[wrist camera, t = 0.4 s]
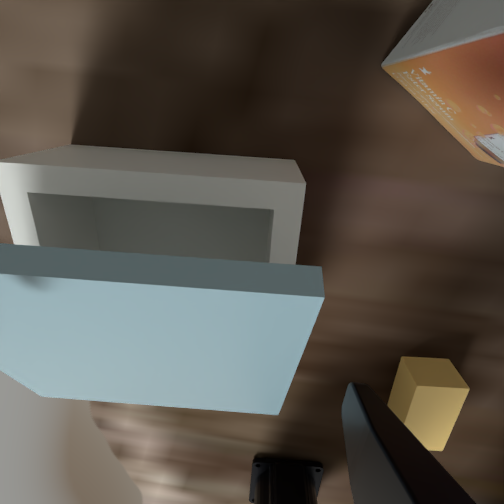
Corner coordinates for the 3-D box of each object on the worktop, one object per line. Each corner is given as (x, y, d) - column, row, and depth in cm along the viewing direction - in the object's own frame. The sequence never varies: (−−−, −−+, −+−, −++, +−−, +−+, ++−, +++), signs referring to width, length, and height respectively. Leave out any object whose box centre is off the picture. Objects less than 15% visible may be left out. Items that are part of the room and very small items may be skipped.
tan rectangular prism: (425, 415, 27) (442, 451, 24) (383, 413, 27) (395, 448, 24) (447, 356, 24) (469, 388, 22) (400, 354, 24) (417, 385, 22)
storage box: (275, 328, 24) (278, 394, 18) (99, 314, 24) (51, 376, 18) (294, 159, 18) (306, 183, 13) (70, 144, 19) (-9, 161, 13)
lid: (278, 395, 18) (278, 415, 17) (49, 377, 18) (41, 396, 18) (321, 266, 9) (324, 297, 8) (-140, 233, 9) (-172, 260, 8)
